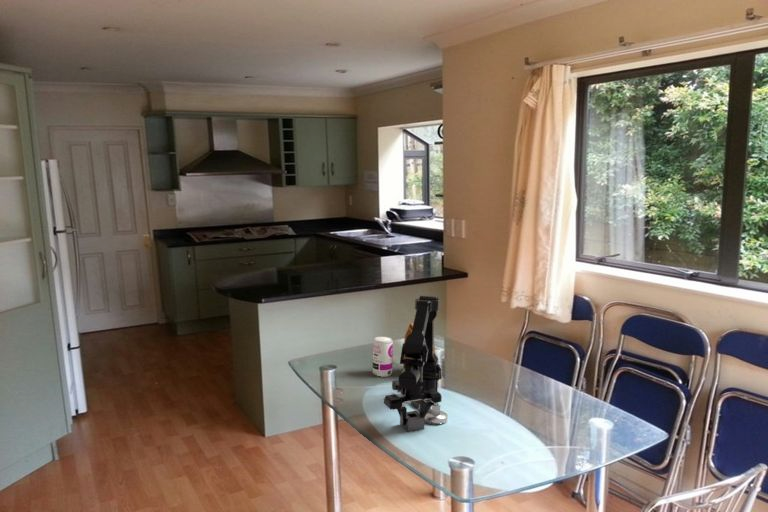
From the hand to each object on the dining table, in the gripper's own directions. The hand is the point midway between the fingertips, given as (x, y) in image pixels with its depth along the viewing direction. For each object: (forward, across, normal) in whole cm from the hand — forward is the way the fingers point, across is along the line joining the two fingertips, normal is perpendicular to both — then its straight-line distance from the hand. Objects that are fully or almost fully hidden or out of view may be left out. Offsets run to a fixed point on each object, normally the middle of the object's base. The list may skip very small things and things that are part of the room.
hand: (412, 423), depth 195 cm
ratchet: (+1, -10, -8) cm, 13 cm away
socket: (+1, 0, 0) cm, 1 cm away
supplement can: (+1, -11, -49) cm, 50 cm away
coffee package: (+2, -26, -45) cm, 52 cm away
